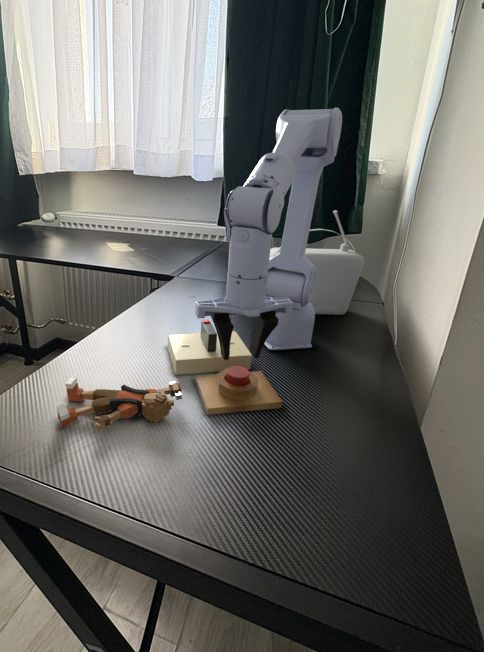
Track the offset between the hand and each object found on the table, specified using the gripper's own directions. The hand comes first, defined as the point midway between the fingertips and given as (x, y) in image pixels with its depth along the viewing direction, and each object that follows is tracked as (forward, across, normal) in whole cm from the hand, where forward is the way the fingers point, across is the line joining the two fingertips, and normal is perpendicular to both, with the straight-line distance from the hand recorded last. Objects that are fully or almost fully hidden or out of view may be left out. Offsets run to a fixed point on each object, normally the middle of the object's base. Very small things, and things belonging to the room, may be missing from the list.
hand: (239, 355), depth 59 cm
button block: (+7, 0, 0) cm, 7 cm away
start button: (+5, 0, 0) cm, 5 cm away
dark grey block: (+4, -2, +12) cm, 13 cm away
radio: (+7, +29, +33) cm, 45 cm away
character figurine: (+7, -19, -2) cm, 20 cm away
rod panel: (+7, -2, +12) cm, 14 cm away
